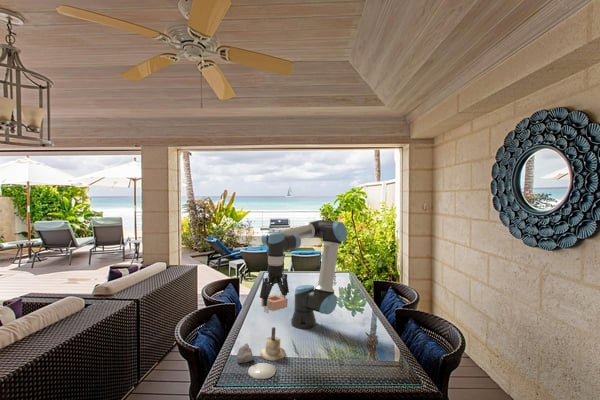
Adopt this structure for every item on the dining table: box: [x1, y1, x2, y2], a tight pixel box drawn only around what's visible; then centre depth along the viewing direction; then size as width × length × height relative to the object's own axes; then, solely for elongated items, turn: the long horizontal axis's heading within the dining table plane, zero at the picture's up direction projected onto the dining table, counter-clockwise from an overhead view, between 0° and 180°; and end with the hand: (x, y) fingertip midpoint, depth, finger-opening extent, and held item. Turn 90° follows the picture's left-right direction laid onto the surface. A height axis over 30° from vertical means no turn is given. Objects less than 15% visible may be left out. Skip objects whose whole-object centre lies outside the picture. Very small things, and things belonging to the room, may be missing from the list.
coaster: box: [247, 362, 276, 380], centre depth 140 cm, size 12×12×1 cm
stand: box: [259, 326, 286, 362], centre depth 156 cm, size 12×12×13 cm
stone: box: [235, 343, 254, 364], centre depth 151 cm, size 8×10×6 cm
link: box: [261, 294, 289, 312], centre depth 156 cm, size 9×9×4 cm
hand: (274, 310), depth 156 cm, fingers closed on link, 9 cm apart
